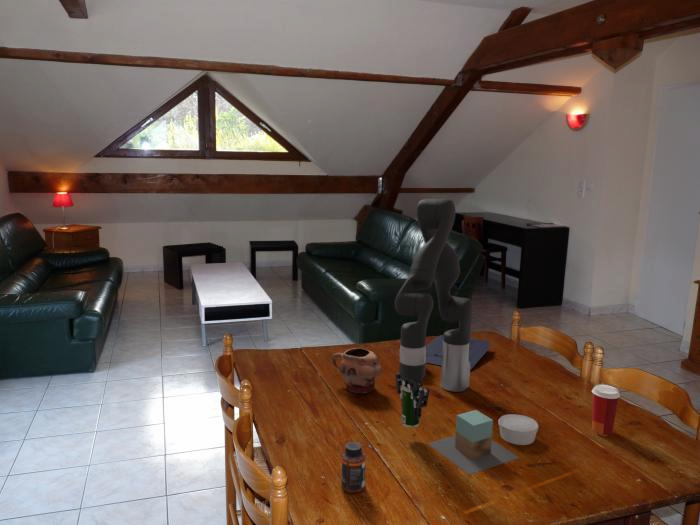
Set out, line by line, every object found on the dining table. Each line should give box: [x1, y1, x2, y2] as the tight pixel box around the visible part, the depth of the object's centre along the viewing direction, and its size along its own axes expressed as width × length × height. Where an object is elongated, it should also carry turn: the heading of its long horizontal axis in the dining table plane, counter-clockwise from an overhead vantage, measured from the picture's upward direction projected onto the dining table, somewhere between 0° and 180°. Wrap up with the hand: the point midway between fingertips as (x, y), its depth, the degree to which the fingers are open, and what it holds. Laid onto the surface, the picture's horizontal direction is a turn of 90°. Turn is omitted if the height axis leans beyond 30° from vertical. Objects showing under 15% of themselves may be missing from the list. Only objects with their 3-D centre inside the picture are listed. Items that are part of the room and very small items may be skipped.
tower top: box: [455, 409, 494, 443], centre depth 157 cm, size 7×7×5 cm
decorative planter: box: [331, 347, 383, 394], centre depth 199 cm, size 20×12×14 cm, turn 66°
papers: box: [425, 334, 491, 371], centre depth 234 cm, size 24×30×4 cm
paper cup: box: [591, 384, 621, 436], centre depth 170 cm, size 8×8×14 cm
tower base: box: [455, 431, 493, 459], centre depth 158 cm, size 7×7×5 cm
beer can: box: [401, 385, 421, 428], centre depth 163 cm, size 5×5×12 cm
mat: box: [427, 434, 520, 475], centre depth 159 cm, size 18×18×1 cm
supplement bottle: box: [341, 441, 366, 494], centre depth 141 cm, size 6×6×11 cm
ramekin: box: [497, 413, 539, 446], centre depth 166 cm, size 11×11×5 cm
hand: (410, 413), depth 164 cm, fingers closed on beer can, 5 cm apart
